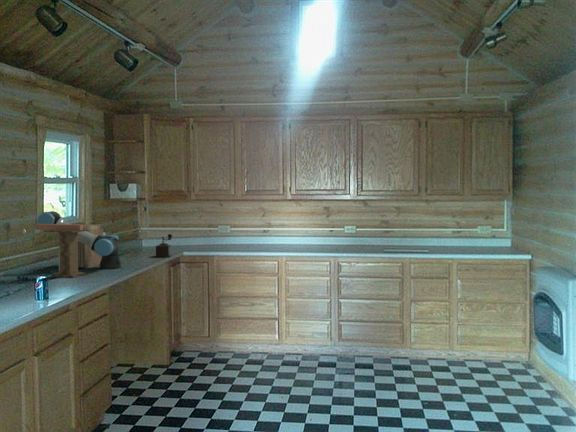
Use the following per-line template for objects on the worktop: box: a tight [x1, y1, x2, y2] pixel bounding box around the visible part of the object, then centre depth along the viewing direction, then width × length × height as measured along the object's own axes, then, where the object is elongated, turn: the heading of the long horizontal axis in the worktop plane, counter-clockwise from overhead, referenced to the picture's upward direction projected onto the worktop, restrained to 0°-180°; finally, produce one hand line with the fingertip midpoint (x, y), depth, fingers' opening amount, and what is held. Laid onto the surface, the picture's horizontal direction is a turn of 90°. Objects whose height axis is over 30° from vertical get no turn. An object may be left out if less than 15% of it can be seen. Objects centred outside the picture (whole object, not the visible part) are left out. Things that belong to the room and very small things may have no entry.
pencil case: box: [36, 223, 84, 231], centre depth 379 cm, size 30×4×4 cm, turn 83°
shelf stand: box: [50, 230, 87, 279], centre depth 378 cm, size 17×13×30 cm
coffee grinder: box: [155, 233, 173, 258], centre depth 477 cm, size 16×11×18 cm
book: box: [78, 223, 104, 269], centre depth 422 cm, size 25×9×30 cm, turn 167°
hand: (32, 229), depth 389 cm, fingers open, 13 cm apart
